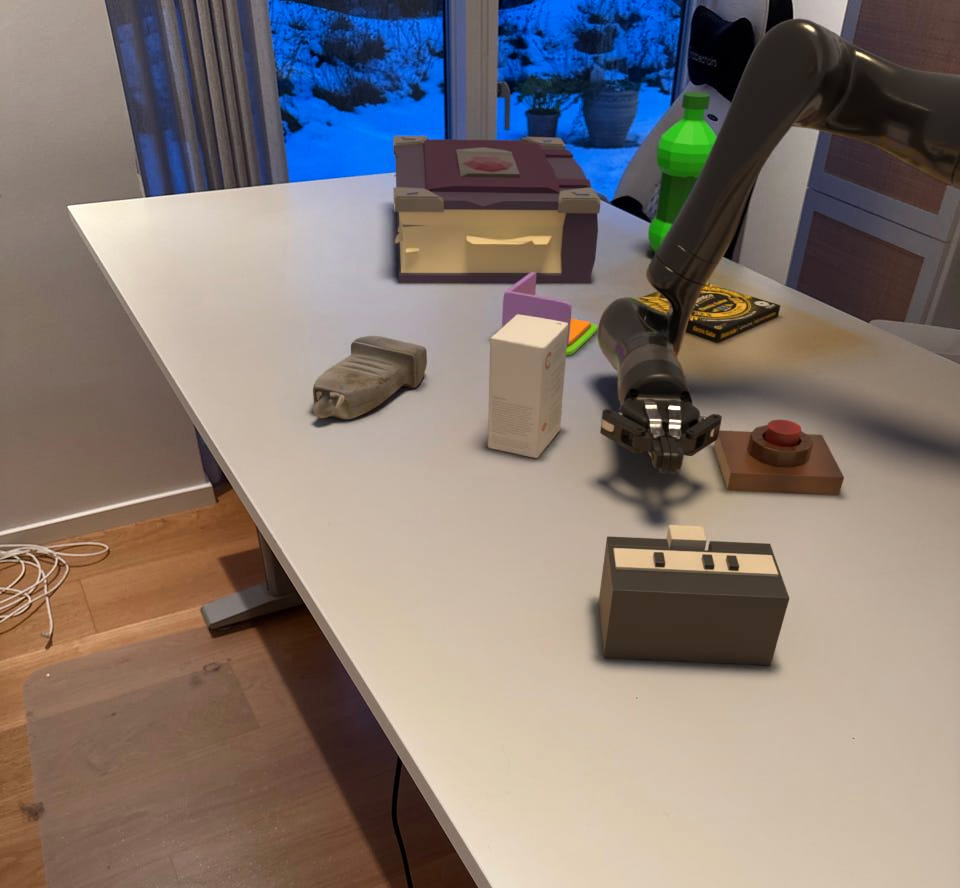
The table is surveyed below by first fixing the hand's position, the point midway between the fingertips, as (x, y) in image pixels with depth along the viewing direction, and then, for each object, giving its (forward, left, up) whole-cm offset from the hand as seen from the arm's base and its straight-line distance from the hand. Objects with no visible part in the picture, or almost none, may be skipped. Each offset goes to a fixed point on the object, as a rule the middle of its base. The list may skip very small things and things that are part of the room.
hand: (669, 465), depth 93 cm
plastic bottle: (-12, -90, -7) cm, 91 cm away
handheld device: (+34, -28, -7) cm, 45 cm away
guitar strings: (-13, -62, -7) cm, 64 cm away
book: (+21, -94, -7) cm, 97 cm away
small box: (+14, -18, -7) cm, 24 cm away
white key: (0, +13, -2) cm, 13 cm away
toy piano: (0, +17, -7) cm, 18 cm away
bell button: (-14, -13, -3) cm, 19 cm away
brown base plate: (-14, -13, -7) cm, 20 cm away
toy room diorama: (+11, -51, -7) cm, 53 cm away
